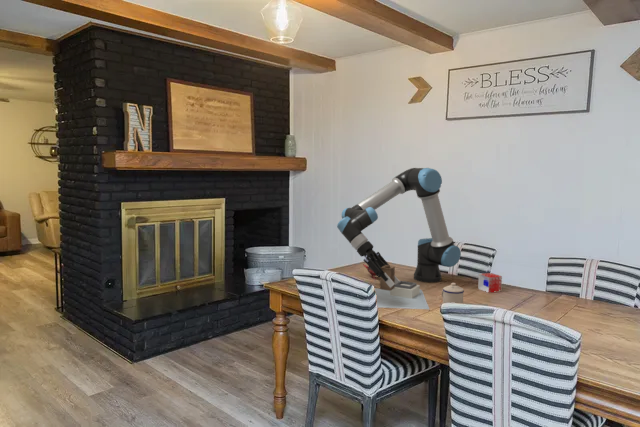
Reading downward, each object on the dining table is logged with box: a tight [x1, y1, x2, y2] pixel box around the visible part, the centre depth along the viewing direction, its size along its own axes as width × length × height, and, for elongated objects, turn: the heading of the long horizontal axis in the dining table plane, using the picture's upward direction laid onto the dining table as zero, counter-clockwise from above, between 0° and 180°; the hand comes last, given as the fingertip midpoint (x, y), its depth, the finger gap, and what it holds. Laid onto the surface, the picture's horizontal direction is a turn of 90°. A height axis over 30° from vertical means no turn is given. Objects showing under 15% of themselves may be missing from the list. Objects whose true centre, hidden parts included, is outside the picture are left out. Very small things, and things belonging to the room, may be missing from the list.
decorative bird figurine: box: [362, 264, 378, 280], centre depth 264 cm, size 3×18×10 cm, turn 30°
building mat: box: [374, 287, 430, 312], centre depth 222 cm, size 24×32×1 cm
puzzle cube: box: [477, 272, 503, 293], centre depth 240 cm, size 8×8×8 cm
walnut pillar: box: [379, 264, 396, 291], centre depth 214 cm, size 5×5×11 cm
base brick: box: [390, 280, 421, 299], centre depth 229 cm, size 11×11×5 cm
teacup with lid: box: [441, 282, 465, 304], centre depth 210 cm, size 12×9×12 cm
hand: (394, 284), depth 212 cm, fingers closed on walnut pillar, 5 cm apart
